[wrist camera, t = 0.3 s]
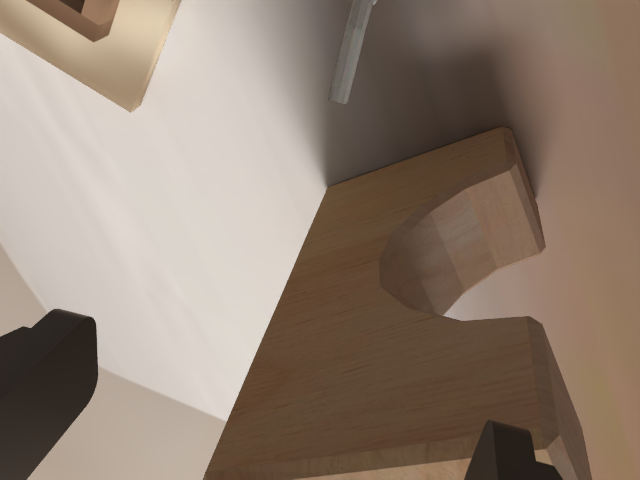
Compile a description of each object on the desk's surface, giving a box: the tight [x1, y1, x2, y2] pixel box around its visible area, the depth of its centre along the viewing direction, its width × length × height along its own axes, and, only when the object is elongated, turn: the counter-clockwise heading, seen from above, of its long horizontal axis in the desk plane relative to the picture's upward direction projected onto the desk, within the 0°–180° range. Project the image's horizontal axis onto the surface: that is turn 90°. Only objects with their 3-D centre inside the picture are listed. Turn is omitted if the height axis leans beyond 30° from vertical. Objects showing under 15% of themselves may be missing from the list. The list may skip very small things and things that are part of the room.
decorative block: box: [203, 126, 592, 480], centre depth 25 cm, size 11×6×20 cm, turn 116°
